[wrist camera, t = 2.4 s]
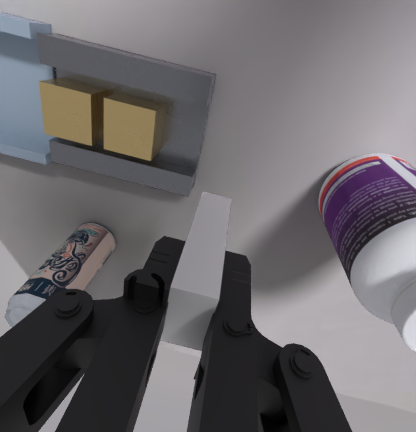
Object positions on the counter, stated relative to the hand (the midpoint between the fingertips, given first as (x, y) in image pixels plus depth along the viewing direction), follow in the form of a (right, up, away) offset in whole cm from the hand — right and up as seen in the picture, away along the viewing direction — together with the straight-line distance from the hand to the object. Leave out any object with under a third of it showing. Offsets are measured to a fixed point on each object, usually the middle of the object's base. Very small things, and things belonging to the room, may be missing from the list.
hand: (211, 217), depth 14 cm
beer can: (-13, -2, +18) cm, 23 cm away
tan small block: (-11, +10, +10) cm, 17 cm away
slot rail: (-7, +9, +10) cm, 15 cm away
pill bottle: (+14, +2, +11) cm, 18 cm away
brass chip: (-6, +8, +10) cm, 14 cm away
